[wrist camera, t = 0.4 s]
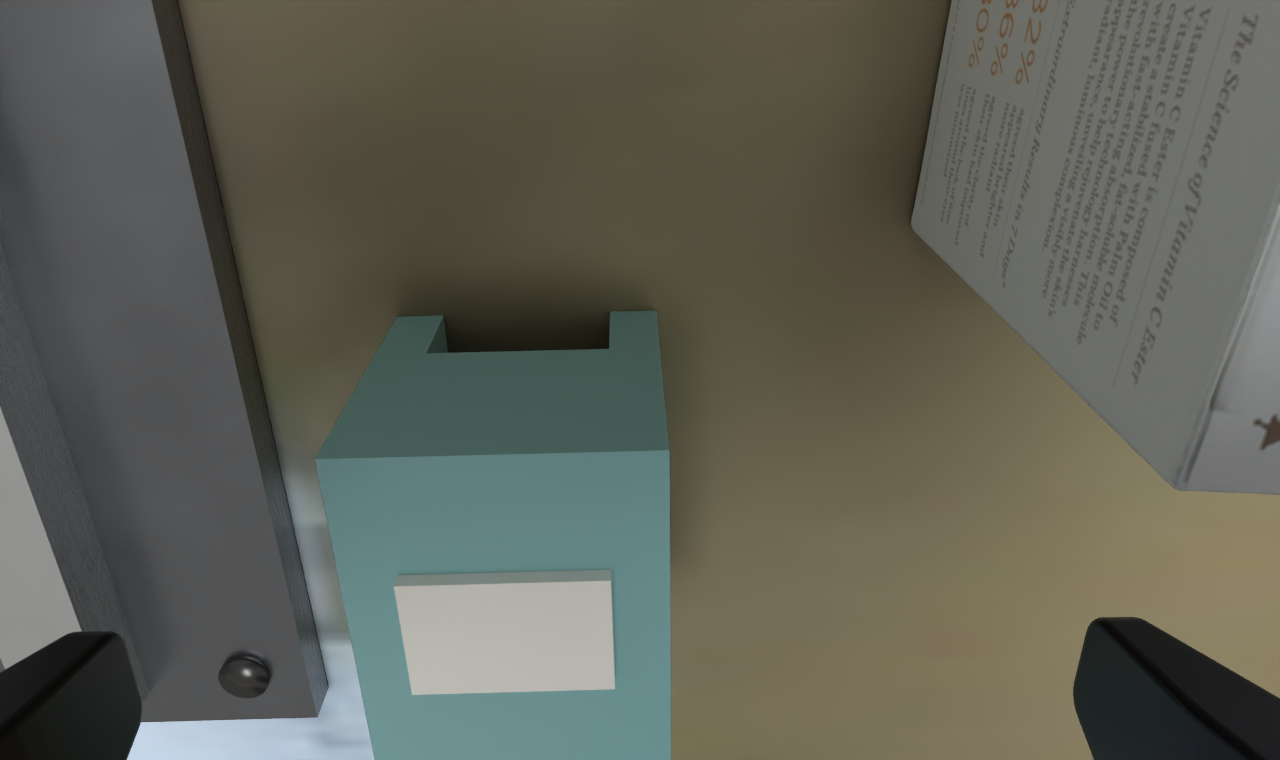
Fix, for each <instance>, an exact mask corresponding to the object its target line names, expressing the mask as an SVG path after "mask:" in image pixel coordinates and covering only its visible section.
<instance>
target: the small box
mask: <svg viewBox="0 0 1280 760" xmlns="http://www.w3.org/2000/svg"><path fill="white" fill-rule="evenodd" d="M911 226H912V229H913V231H914V232H915V233H916V234H917V235H918V236H919V237H920V238H921V239H922V240H923V241H924V242H925V243H926V244H927V245H928V246H929V247H930V248H931V249H932V250H934V251H935V252H936V254H937V255H938V256H939V257H940V258H941V259H942V260H944V261H945V262H946V263H947V264H948V265H949V266H950V267H951V268H952V269H953V270H954V271H955V272H956V273H957V274H958V275H959V276H960V277H961V278H962V279H963V280H964V281H965V282H966V283H967V284H968V285H969V286H970V287H971V288H972V289H973V290H974V291H975V292H976V293H977V294H978V295H979V296H980V297H981V298H982V299H983V300H984V301H985V302H986V303H987V304H988V305H989V306H990V307H991V308H992V309H993V310H994V311H995V312H996V313H997V314H998V315H999V316H1000V317H1001V318H1002V319H1003V320H1004V321H1005V322H1006V323H1007V324H1008V325H1009V326H1010V327H1011V328H1012V329H1013V330H1014V331H1015V332H1016V333H1017V334H1018V335H1019V336H1020V337H1021V338H1022V339H1023V340H1024V341H1025V342H1026V343H1027V344H1028V345H1029V346H1030V347H1031V348H1032V349H1033V350H1034V351H1035V352H1036V353H1037V354H1038V355H1039V356H1041V357H1042V358H1043V359H1044V360H1045V361H1046V362H1047V363H1048V364H1049V366H1050V367H1051V368H1052V369H1053V370H1054V371H1055V372H1056V373H1057V374H1058V375H1059V376H1060V377H1061V378H1062V379H1063V380H1064V381H1065V382H1066V383H1067V384H1068V385H1069V386H1070V387H1071V388H1072V389H1073V390H1074V391H1075V392H1076V393H1077V394H1078V395H1079V396H1080V397H1081V398H1082V399H1083V400H1084V401H1085V402H1086V403H1087V404H1088V405H1089V406H1090V407H1091V408H1092V409H1093V410H1094V411H1095V412H1096V413H1097V414H1098V415H1099V416H1100V417H1101V418H1102V419H1103V420H1104V421H1105V422H1106V423H1107V424H1108V425H1109V426H1110V427H1112V428H1113V429H1114V430H1115V431H1116V432H1117V433H1118V434H1119V435H1120V436H1121V437H1122V438H1123V439H1124V440H1125V441H1126V443H1127V444H1128V445H1129V446H1130V447H1131V448H1132V449H1134V450H1135V451H1136V452H1137V453H1138V454H1139V455H1140V456H1141V457H1142V458H1143V459H1144V460H1145V461H1146V462H1147V463H1148V464H1149V465H1150V466H1151V467H1152V468H1153V469H1154V470H1155V471H1156V472H1157V473H1158V474H1159V475H1160V476H1161V477H1162V478H1163V479H1164V480H1165V481H1166V482H1167V483H1168V484H1170V485H1171V486H1172V487H1173V488H1175V489H1177V490H1181V491H1208V492H1231V493H1257V494H1273V495H1280V0H952V1H951V7H950V12H949V18H948V23H947V29H946V34H945V40H944V45H943V51H942V56H941V62H940V67H939V73H938V78H937V84H936V89H935V95H934V101H933V106H932V112H931V118H930V124H929V130H928V136H927V142H926V147H925V152H924V157H923V163H922V168H921V174H920V180H919V185H918V190H917V195H916V200H915V206H914V210H913V214H912V220H911Z"/></svg>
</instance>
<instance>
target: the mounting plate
mask: <svg viewBox="0 0 1280 760" xmlns="http://www.w3.org/2000/svg"><path fill="white" fill-rule="evenodd" d="M79 631H113V632H115V633H118V634H119V635H121V637H122V638H123V639H124V641H125V643H126V646H127V649H128V652H129V656H130V659H131V663H132V666H133V670H134V673H135V676H136V680H137V683H138V687H139V690H140V694H141V698H142V718H141V722H165V721H200V720H236V719H272V718H308V717H318V714H319V711H320V709H321V706H322V704H323V701H324V698H325V696H326V693H327V691H328V684H327V680H326V675H325V671H324V666H323V662H322V657H321V653H320V648H319V643H318V639H317V634H316V630H315V625H314V621H313V616H312V612H311V607H310V603H309V598H308V593H307V589H306V584H305V580H304V575H303V571H302V566H301V562H300V557H299V553H298V548H297V543H296V539H295V534H294V530H293V525H292V521H291V516H290V512H289V507H288V503H287V498H286V493H285V489H284V484H283V480H282V475H281V471H280V466H279V462H278V457H277V453H276V448H275V443H274V439H273V434H272V430H271V425H270V421H269V416H268V412H267V407H266V403H265V398H264V393H263V389H262V384H261V380H260V375H259V371H258V366H257V362H256V357H255V353H254V348H253V344H252V339H251V334H250V330H249V325H248V321H247V316H246V312H245V307H244V303H243V298H242V294H241V289H240V284H239V280H238V275H237V271H236V266H235V262H234V257H233V253H232V248H231V244H230V239H229V234H228V230H227V225H226V221H225V216H224V212H223V207H222V203H221V198H220V194H219V189H218V184H217V180H216V175H215V171H214V166H213V162H212V157H211V153H210V148H209V144H208V139H207V134H206V130H205V125H204V121H203V116H202V112H201V107H200V103H199V98H198V94H197V89H196V84H195V80H194V75H193V71H192V66H191V62H190V57H189V53H188V48H187V44H186V39H185V34H184V30H183V25H182V21H181V16H180V12H179V7H178V3H177V0H0V672H1V671H3V670H5V669H7V668H8V667H10V666H12V665H14V664H15V663H17V662H19V661H21V660H22V659H24V658H26V657H28V656H29V655H31V654H33V653H34V652H36V651H38V650H40V649H41V648H43V647H45V646H47V645H48V644H50V643H52V642H54V641H55V640H57V639H59V638H61V637H62V636H64V635H66V634H68V633H72V632H79Z"/></svg>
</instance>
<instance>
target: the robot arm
mask: <svg viewBox="0 0 1280 760" xmlns="http://www.w3.org/2000/svg"><path fill="white" fill-rule="evenodd" d="M1073 697H1074V705H1075V709H1076V713H1077V716H1078V718H1079V721H1080V724H1081V726H1082V729H1083V732H1084V734H1085V737H1086V740H1087V742H1088V745H1089V748H1090V750H1091V753H1092V756H1093V759H1094V760H1280V698H1278V697H1276V696H1275V695H1273V694H1271V693H1269V692H1268V691H1266V690H1264V689H1263V688H1261V687H1259V686H1257V685H1256V684H1254V683H1252V682H1250V681H1249V680H1247V679H1245V678H1244V677H1242V676H1240V675H1238V674H1237V673H1235V672H1233V671H1231V670H1230V669H1228V668H1226V667H1225V666H1223V665H1221V664H1219V663H1218V662H1216V661H1214V660H1212V659H1211V658H1209V657H1207V656H1206V655H1204V654H1202V653H1200V652H1199V651H1197V650H1195V649H1193V648H1192V647H1190V646H1188V645H1187V644H1185V643H1183V642H1181V641H1180V640H1178V639H1176V638H1174V637H1173V636H1171V635H1169V634H1168V633H1166V632H1164V631H1162V630H1161V629H1159V628H1157V627H1155V626H1154V625H1152V624H1150V623H1149V622H1147V621H1145V620H1143V619H1140V618H1136V617H1101V618H1097V619H1095V620H1093V621H1092V622H1091V624H1090V625H1089V626H1088V629H1087V632H1086V636H1085V640H1084V644H1083V648H1082V652H1081V656H1080V660H1079V665H1078V669H1077V673H1076V677H1075V681H1074V687H1073ZM141 718H142V698H141V694H140V690H139V687H138V683H137V680H136V676H135V673H134V670H133V666H132V663H131V659H130V656H129V652H128V649H127V646H126V643H125V641H124V639H123V638H122V637H121V635H119V634H118V633H115V632H113V631H79V632H72V633H68V634H66V635H64V636H62V637H61V638H59V639H57V640H55V641H54V642H52V643H50V644H48V645H47V646H45V647H43V648H41V649H40V650H38V651H36V652H34V653H33V654H31V655H29V656H28V657H26V658H24V659H22V660H21V661H19V662H17V663H15V664H14V665H12V666H10V667H8V668H7V669H5V670H3V671H1V672H0V760H127V758H128V755H129V752H130V750H131V747H132V745H133V742H134V739H135V737H136V734H137V732H138V729H139V726H140V722H141Z"/></svg>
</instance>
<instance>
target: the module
mask: <svg viewBox="0 0 1280 760" xmlns="http://www.w3.org/2000/svg"><path fill="white" fill-rule="evenodd" d="M315 463H316V468H317V473H318V478H319V483H320V488H321V493H322V498H323V503H324V508H325V513H326V518H327V523H328V528H329V533H330V538H331V543H332V548H333V553H334V558H335V563H336V568H337V573H338V578H339V583H340V588H341V593H342V598H343V603H344V608H345V613H346V618H347V623H348V628H349V633H350V638H351V643H352V648H353V653H354V658H355V663H356V668H357V673H358V678H359V683H360V688H361V693H362V698H363V703H364V708H365V713H366V718H367V723H368V728H369V733H370V738H371V743H372V748H373V753H374V758H375V760H671V663H670V449H669V439H668V428H667V418H666V407H665V397H664V386H663V376H662V365H661V355H660V345H659V334H658V324H657V313H656V311H618V312H610V334H609V349H586V350H544V351H503V352H461V353H448V349H447V341H446V332H445V324H444V316H407V317H397V318H396V320H395V321H394V323H393V325H392V326H391V328H390V330H389V332H388V333H387V335H386V337H385V339H384V340H383V342H382V344H381V346H380V347H379V349H378V351H377V352H376V354H375V356H374V358H373V359H372V361H371V363H370V365H369V366H368V368H367V370H366V371H365V373H364V375H363V377H362V378H361V380H360V382H359V384H358V385H357V387H356V389H355V391H354V392H353V394H352V396H351V397H350V399H349V401H348V403H347V404H346V406H345V408H344V410H343V411H342V413H341V415H340V417H339V418H338V420H337V422H336V423H335V425H334V427H333V429H332V430H331V432H330V434H329V436H328V437H327V439H326V441H325V442H324V444H323V446H322V448H321V449H320V451H319V453H318V455H317V456H316V458H315Z"/></svg>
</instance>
